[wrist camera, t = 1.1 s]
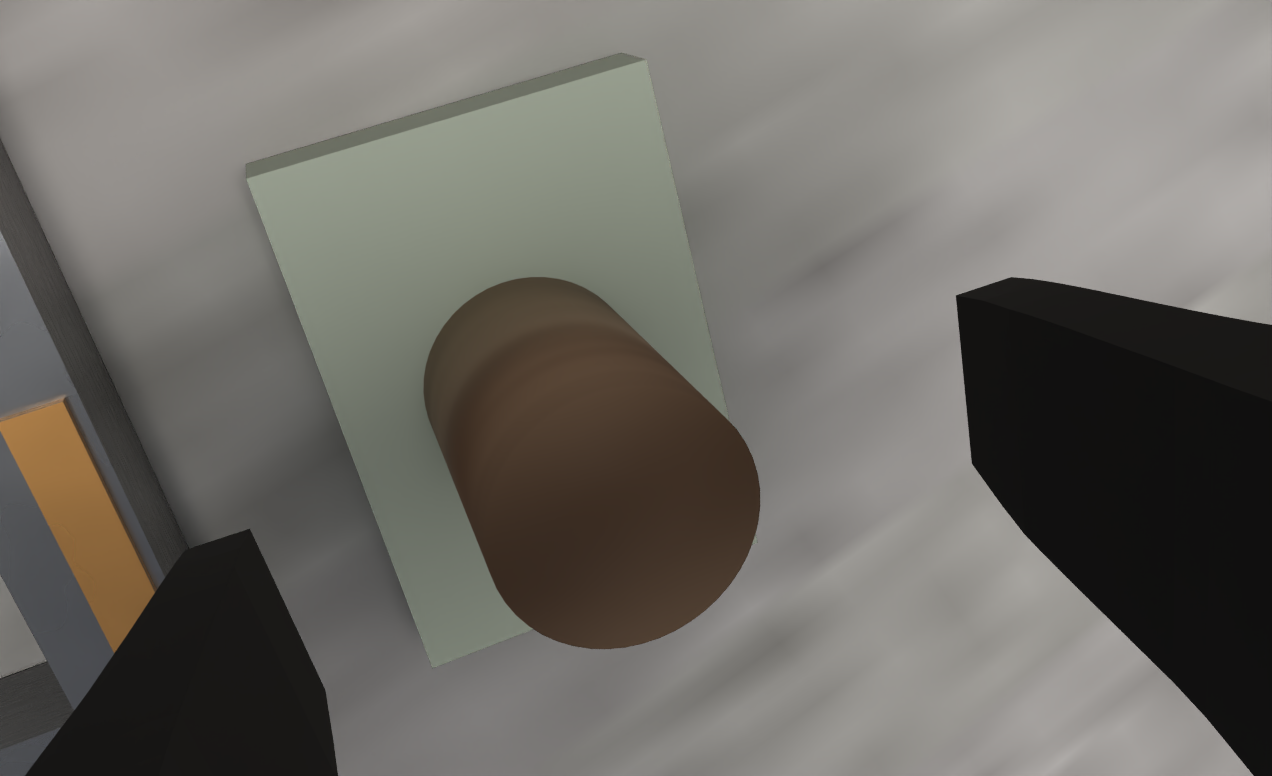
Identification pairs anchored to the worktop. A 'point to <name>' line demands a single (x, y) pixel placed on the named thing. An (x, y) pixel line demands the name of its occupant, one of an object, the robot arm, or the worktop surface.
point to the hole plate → (65, 491)
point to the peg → (587, 466)
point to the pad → (473, 284)
